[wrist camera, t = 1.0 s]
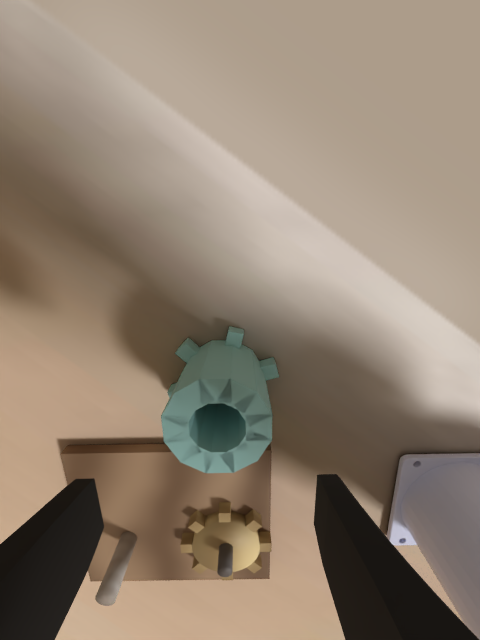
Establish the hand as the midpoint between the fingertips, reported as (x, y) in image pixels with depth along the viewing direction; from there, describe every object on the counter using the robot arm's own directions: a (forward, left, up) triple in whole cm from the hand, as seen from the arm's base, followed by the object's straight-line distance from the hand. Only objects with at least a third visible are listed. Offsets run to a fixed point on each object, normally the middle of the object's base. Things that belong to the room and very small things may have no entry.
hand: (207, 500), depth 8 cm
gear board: (+4, +11, -9) cm, 15 cm away
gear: (0, 0, -9) cm, 9 cm away
